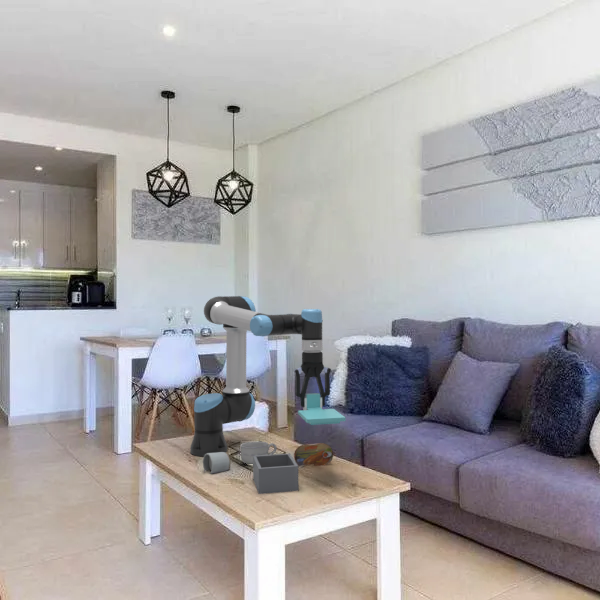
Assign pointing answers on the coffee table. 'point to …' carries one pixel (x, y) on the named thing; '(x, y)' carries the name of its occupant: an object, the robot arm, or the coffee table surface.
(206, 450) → the robot arm
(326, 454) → the tin
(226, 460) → the ceramic mug
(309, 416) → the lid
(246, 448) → the teacup
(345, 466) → the coffee table surface
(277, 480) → the tub
